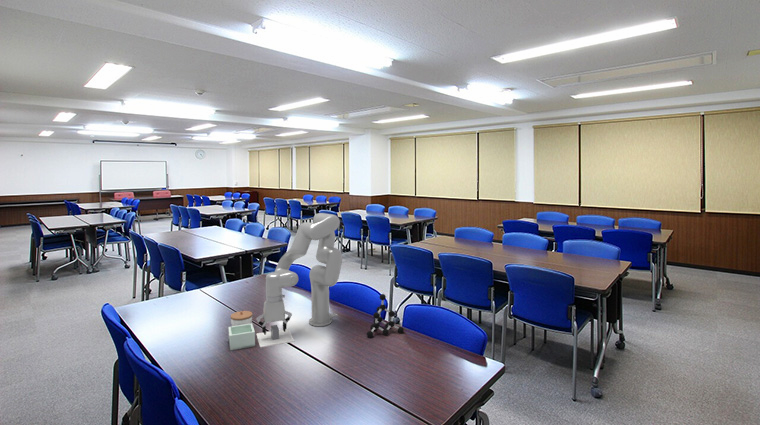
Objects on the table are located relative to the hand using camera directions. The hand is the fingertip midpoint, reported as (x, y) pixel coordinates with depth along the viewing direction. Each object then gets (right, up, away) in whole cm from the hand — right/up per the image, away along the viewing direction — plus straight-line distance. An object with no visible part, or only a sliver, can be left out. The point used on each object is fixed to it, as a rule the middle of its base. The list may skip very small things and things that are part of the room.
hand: (274, 332), depth 185 cm
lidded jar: (-20, -2, +11) cm, 23 cm away
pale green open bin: (-14, -3, -6) cm, 16 cm away
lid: (0, -4, +1) cm, 4 cm away
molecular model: (+52, -3, +8) cm, 53 cm away
